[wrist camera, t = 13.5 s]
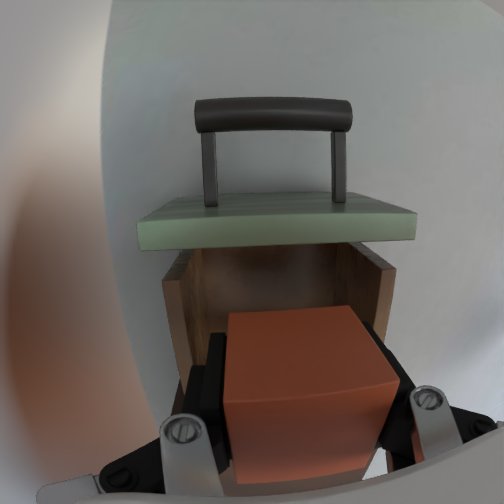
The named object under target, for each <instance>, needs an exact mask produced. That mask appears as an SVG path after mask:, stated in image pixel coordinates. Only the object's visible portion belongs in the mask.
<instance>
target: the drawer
mask: <svg viewBox="0 0 504 504" xmlns="http://www.w3.org/2000/svg"><path fill="white" fill-rule="evenodd" d="M194 115H195V126H196V130H197V133H199V134H200V133H201V144H202V167H203V187H204V196H196V197H181V198H177V199H175V200H173V201H171V202H170V203H168V204H166V205H164V206H162V207H161V208H159V209H157V210H156V211H154V212H152V213H150V214H149V215H147V216H145V217H144V218H142V219H140V220H139V221H137V222H136V229H137V237H138V245H139V250H140V251H158V250H179V249H182V250H181V252H180V253H179V255H178V256H177V258H176V259H175V261H174V263H173V264H172V266H171V267H170V269H169V270H168V272H167V273H166V275H165V277H164V278H163V280H162V287H163V293H164V299H165V305H166V311H167V317H168V322H169V327H170V333H171V338H172V343H173V348H174V353H175V357H176V362H177V366H178V371H179V375H180V380H181V384H182V388H183V392H184V396H185V392H186V387H187V382H188V378H189V373H190V368H191V366H192V365H206V359H207V353H208V347H209V340H210V334H211V333H213V332H225V334H226V336H227V332H228V317H229V313H240V312H262V311H280V310H295V309H309V308H322V307H333V306H344V305H349V306H350V307H351V309H352V310H353V311H354V313H355V314H356V316H357V317H358V319H359V320H360V321H361V322H365V321H367V322H368V323H369V324H370V325H371V327H372V328H373V329H374V331H375V332H376V334H377V335H378V336H379V338H380V339H381V340H382V342H383V343H384V339H385V335H386V330H387V325H388V320H389V314H390V309H391V303H392V297H393V291H394V284H395V277H396V268H395V267H394V266H392V265H391V264H390V263H388V262H387V261H386V260H384V259H383V258H381V257H380V256H379V255H377V254H376V253H375V252H373V251H372V250H371V249H369V248H368V247H366V246H365V245H364V244H362V243H361V242H372V241H400V240H415V235H416V224H417V213H416V212H413V211H410V210H407V209H404V208H401V207H398V206H395V205H392V204H389V203H386V202H383V201H380V200H376V199H373V198H370V197H367V196H363V195H360V194H357V193H353V192H346V133H345V132H348V131H349V130H350V128H351V125H352V119H353V114H352V107H351V104H350V103H349V102H348V101H347V100H336V99H323V98H305V97H236V98H218V99H205V100H197V101H196V102H195V110H194ZM257 130H304V131H331V166H332V192H295V193H256V194H232V195H218V182H217V160H216V134H215V132H230V131H257Z"/></svg>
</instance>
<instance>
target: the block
mask: <svg viewBox="0 0 504 504" xmlns="http://www.w3.org/2000/svg"><path fill="white" fill-rule="evenodd" d="M399 383H400V379H399V377H398V376H397V374H396V373H395V371H394V370H393V368H392V367H391V365H390V364H389V362H388V361H387V359H386V358H385V356H384V355H383V353H382V352H381V350H380V349H379V347H378V346H377V345H376V343H375V342H374V340H373V339H372V337H371V336H370V334H369V333H368V331H367V330H366V329H365V327H364V326H363V324H362V323H361V321H360V320H359V319H358V317H357V316H356V314H355V313H354V311H353V310H352V309H351V307H350V306H349V305H344V306H333V307H322V308H309V309H295V310H280V311H262V312H240V313H229V317H228V332H227V346H226V362H225V378H224V394H223V405H224V412H225V418H226V425H227V431H228V438H229V444H230V450H231V456H232V462H233V467H234V473H235V478H236V482H237V483H238V484H245V483H266V482H279V481H289V480H298V479H306V478H313V477H319V476H325V475H331V474H336V473H341V472H346V471H351V470H355V469H359V468H363V467H365V465H366V463H367V461H368V459H369V457H370V455H371V453H372V451H373V449H374V447H375V444H376V442H377V440H378V438H379V435H380V433H381V431H382V428H383V426H384V424H385V421H386V419H387V416H388V414H389V411H390V408H391V406H392V403H393V400H394V398H395V395H396V392H397V389H398V386H399Z"/></svg>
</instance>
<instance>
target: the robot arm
mask: <svg viewBox="0 0 504 504" xmlns="http://www.w3.org/2000/svg"><path fill="white" fill-rule="evenodd" d="M361 323H362V324H363V326H364V327H365V329H366V330H367V331H368V333H369V334H370V336H371V337H372V339H373V340H374V342H375V343H376V345H377V346H378V347H379V349H380V350H381V352H382V353H383V355H384V356H385V358H386V359H387V361H388V362H389V364H390V365H391V367H392V368H393V370H394V371H395V373H396V374H397V376H398V377H399V379H400V383H399V386H398V389H397V392H396V395H395V398H394V400H393V403H392V406H391V408H390V411H389V414H388V416H387V419H386V421H385V424H384V426H383V428H382V431H381V433H380V435H379V438H378V440H377V442H376V444H375V447H374V449H376V448H380V447H382V449H385V450H386V461H387V471H388V474H384V475H381V476H377V477H374V478H370V479H366V480H362V481H358V482H354V483H350V484H345V485H340V486H335V487H330V488H325V489H319V490H313V491H306V492H298V493H290V494H280V495H269V496H251V497H225V495H224V491H223V488H222V484H221V481H220V477H219V475H220V474H221V473H223V472H224V471H226V470H227V467H230V460H232V456H231V450H230V444H229V438H228V431H227V425H226V418H225V412H224V405H223V394H224V378H225V362H226V346H227V336H226V334H225V332H213V333H211V334H210V340H209V347H208V353H207V359H206V365H192V366H191V368H190V373H189V378H188V382H187V387H186V392H185V396H184V401H183V406H182V411H181V413H180V414H176V415H173V416H171V417H169V418H167V419H166V420H165V421H164V422H163V423H162V425H161V426H160V432H159V433H160V437H159V438H157V439H156V440H154V441H152V442H150V443H148V444H146V445H145V446H143V447H141V448H139V449H137V450H135V451H134V452H131V453H129V454H127V455H125V456H123V457H121V458H119V459H117V460H115V461H113V462H111V463H109V464H108V465H106V466H105V467H104V468H103V469H102V470H101V472H100V474H99V475H95V476H93V475H92V474H88V475H84V476H81V477H77V478H74V479H69V480H65V481H61V482H57V483H52V484H48V485H45V486H43V487H41V488H40V489H39V490H38V492H37V495H36V502H37V504H504V422H502V421H497V423H496V424H495V422H494V421H493V420H492V419H491V418H490V417H488V416H486V415H482V414H478V413H475V412H471V411H467V410H463V409H460V408H456V407H453V406H449V403H448V401H447V398H446V396H445V394H444V393H443V392H442V391H441V390H440V389H438V388H436V387H433V386H427V385H423V386H419V387H417V388H416V386H415V385H414V383H413V382H412V381H411V379H410V378H409V376H408V375H407V373H406V372H405V370H404V369H403V368H402V366H401V365H400V363H399V362H398V361H397V359H396V358H395V356H394V355H393V354H392V352H391V351H390V350H389V349H387V347H386V346H385V345H384V343H383V342H382V340H381V339H380V338H379V336H378V335H377V334H376V332H375V331H374V329H373V328H372V327H371V325H370V324H369V323H368V322H367V321H365V322H361Z"/></svg>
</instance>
